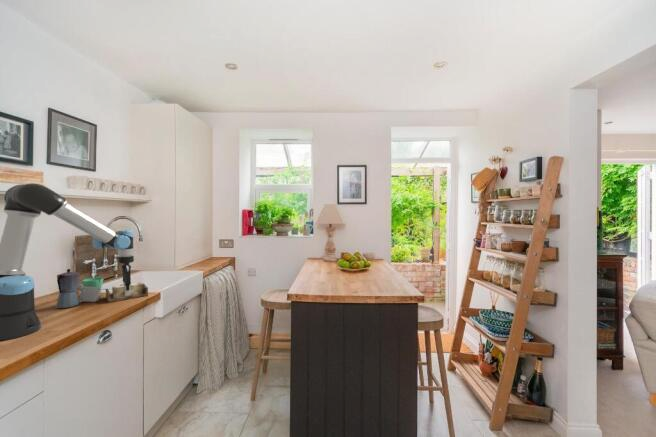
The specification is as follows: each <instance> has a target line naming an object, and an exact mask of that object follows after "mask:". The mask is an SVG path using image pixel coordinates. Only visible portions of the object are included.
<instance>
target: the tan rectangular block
mask: <svg viewBox="0 0 656 437" xmlns="http://www.w3.org/2000/svg"><path fill="white" fill-rule="evenodd" d="M142 284H143V283H142V282H136V283H131V284H130V293H131V295H129V296H132V295H138V294H142ZM111 288H112V292H111V294H113V299H115V298H121V297H127V296H125V285H123V284H122V285H116V286H112V287H111Z"/></svg>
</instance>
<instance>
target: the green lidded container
mask: <svg viewBox="0 0 656 437" xmlns="http://www.w3.org/2000/svg"><path fill="white" fill-rule="evenodd" d="M81 281H82V285H83V287H100V286H101V288H102V287H103V283H104V277H100V276H98V277H89V278H84V279H82V280H81ZM98 291H99V289H98Z"/></svg>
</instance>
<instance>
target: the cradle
mask: <svg viewBox="0 0 656 437" xmlns="http://www.w3.org/2000/svg"><path fill="white" fill-rule="evenodd" d="M141 284H142V294H138V295H132V296H127V297H121V298H115V299H113V294H112V293H111V291H110V290H109V288H105V298H106V300H107V303H109V304H111V303H116V302H120V301H126V300H132V299H137V298H138V299H139V298H142V297H143V298H144V297H149V287H148V286H147V285H146V284H145V283H143V282H142V283H141Z"/></svg>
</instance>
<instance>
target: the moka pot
mask: <svg viewBox="0 0 656 437" xmlns="http://www.w3.org/2000/svg"><path fill="white" fill-rule="evenodd" d="M56 280H57V285H58V286H57V287H58V290H59V294H58V298H57V303H56V308H57V309H64V308H71V307H72V308H73V307H76V306H79V305H80V303H79V300H78V297H79V295H78V290H77V288H78V284H79V280H80V272H74V271H73V272H71V268H68V269H66V272H63V273H59V274H57V275H56Z"/></svg>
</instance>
